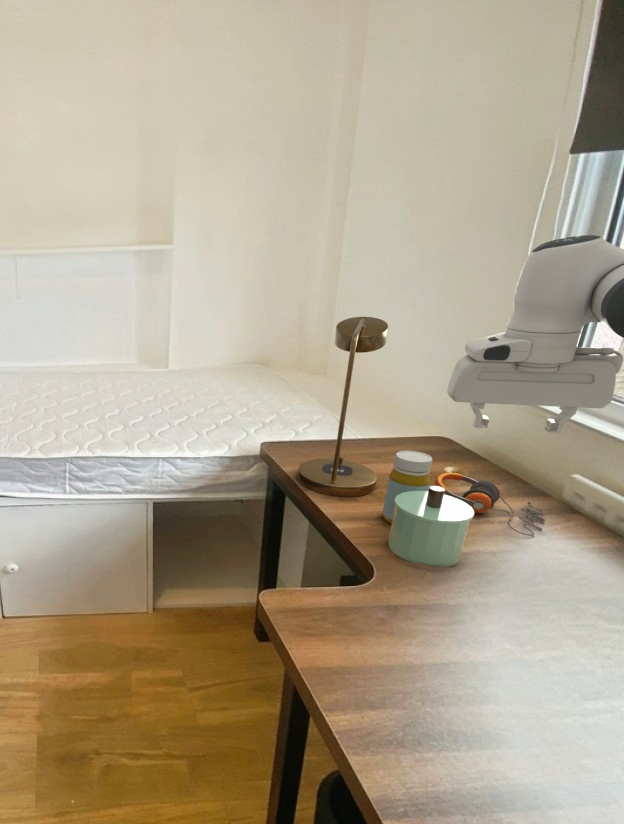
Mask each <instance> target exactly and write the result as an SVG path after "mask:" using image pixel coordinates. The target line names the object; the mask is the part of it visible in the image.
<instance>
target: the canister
mask: <svg viewBox="0 0 624 824" xmlns="http://www.w3.org/2000/svg"><path fill="white" fill-rule="evenodd" d="M470 522H471V520H470V521H468V522H465V523H460V524H442V523H434V522H429V521H425V520H421V519H418V518H415V517H412V516H410V515H408V514H406V513H404V512H402V511H401V510H399V509H398V508H397V507H396V505H395V510H394V515H393V520H392V524H390V525H391V526H390V530H389V536H388V540H387V542H388V548H389V549H390V551H391V552H392V553H393V554H394V555H396V556H397V557H399V558H400V559H403V560H404V561H407V562H409V563H413V564H420V565H428V566H434V567H441V568H449V567H453V566H455V565H457V564H458V563H459V562H460V559H461V557H462V553H463V550H464V546H465V542H466V538H467V535H468V530H469V526H470Z"/></svg>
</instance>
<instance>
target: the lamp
mask: <svg viewBox="0 0 624 824" xmlns="http://www.w3.org/2000/svg"><path fill="white" fill-rule="evenodd" d="M388 331H389V324H388V323H387V322H386V321H385V320H383V319H381V318H377V317H373V316H353V317H349V318H346V319H343V320H341V321H339V322H338V323H337V325H336V327H335V336H334V345H335V346H336V348H337V349H339V350H342V351H344V352H348V353H349V355H348V361H347V368H346V369H347V370H346V375H345V383H344V389H343V395H342V403H341V410H340V416H339V424H338V429H337V435H336V444H335V449H334V458H315V459H310V460H306V461H304V462H302V463H300V464H299V465H298V468H297V475H296V478H297V481H298V482H299V483H300V484H301V485H302V486H303V487H305V488H307V489H309V490H311V491H313V492H316V493H318V494H323V495H327V496H331V497H340V498H341V497H343V498H344V497H345V498H355V497H361V496H366V495H370V494H371V493H373V492H374V491H375V490H376V486H377V481H378V480H377V479H378V476H377V474H376V472H375V471H373V470H372V469H371V468H369V467H367V466H366V465H363V464H360V463H357V462H353V461H350V460H344V456H342V455H341V448H342V443H343V437H344V436H343V435H344V429H345V423H346V416H347V409H348V403H349V396H350V390H351V384H352V382H351V381H352V376H353V371H354V370H353V369H354V364H355V358H356V353H358V354H359V353H360V354H362V353H371V352H374V351H378V350H380V349H382V348H383V347H384V346H385V345H386V343H387V337H388Z"/></svg>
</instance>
